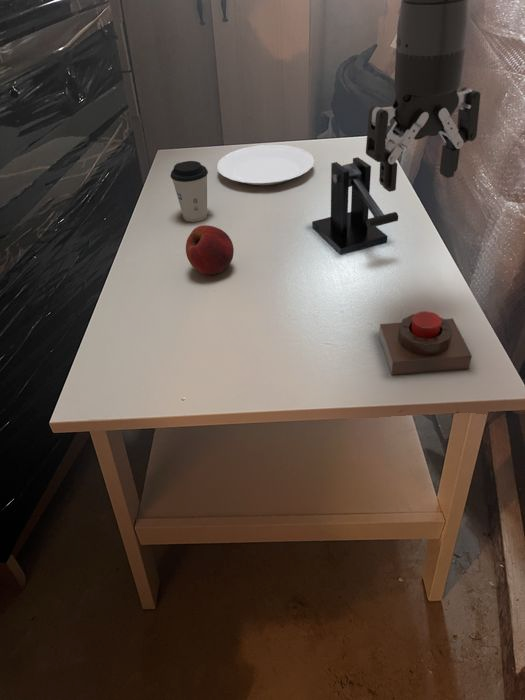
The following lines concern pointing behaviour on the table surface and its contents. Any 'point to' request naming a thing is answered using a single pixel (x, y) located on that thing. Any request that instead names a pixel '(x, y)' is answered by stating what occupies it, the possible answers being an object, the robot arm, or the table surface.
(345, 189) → the lever stand
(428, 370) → the control block
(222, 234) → the apple
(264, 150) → the plate
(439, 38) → the robot arm
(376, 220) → the black lever
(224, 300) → the table surface
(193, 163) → the coffee cup
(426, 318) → the button
